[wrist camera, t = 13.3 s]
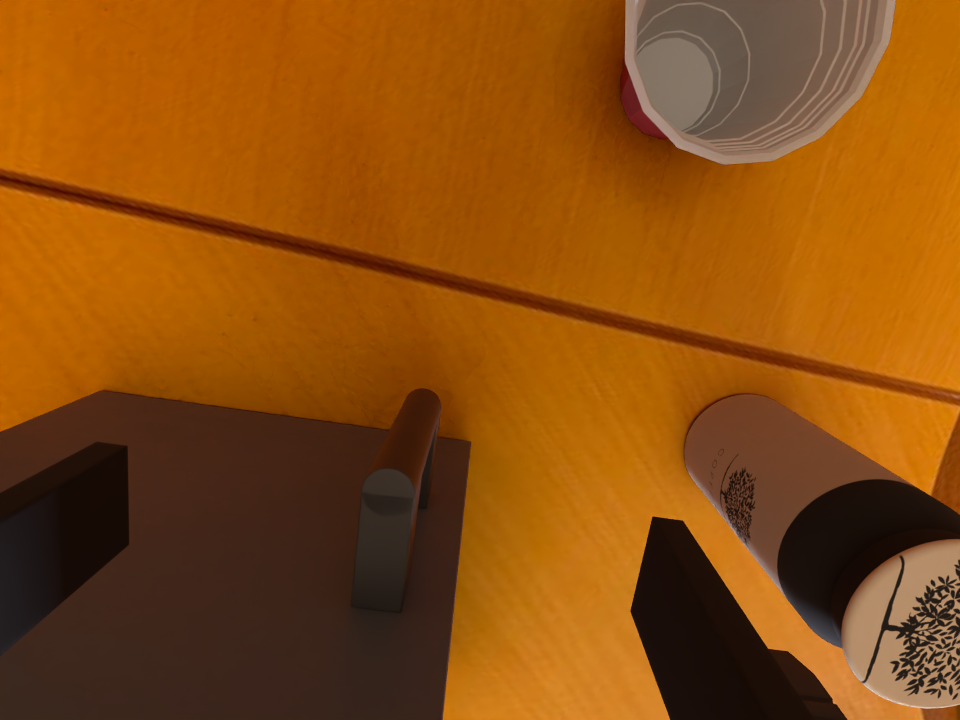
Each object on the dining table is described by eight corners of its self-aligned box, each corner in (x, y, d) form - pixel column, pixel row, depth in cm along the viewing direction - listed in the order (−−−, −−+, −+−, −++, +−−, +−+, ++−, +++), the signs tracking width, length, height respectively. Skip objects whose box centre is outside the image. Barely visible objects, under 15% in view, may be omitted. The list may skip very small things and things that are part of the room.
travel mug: (814, 408, 37) (1097, 566, 20) (772, 508, 39) (996, 734, 22) (704, 380, 37) (892, 516, 20) (667, 483, 39) (808, 691, 21)
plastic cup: (598, 205, 34) (652, 194, 23) (560, 22, 32) (599, -95, 20) (770, 158, 34) (917, 121, 22) (744, -34, 31) (894, -190, 20)
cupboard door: (97, 306, 37) (-786, 481, 11) (482, 360, 37) (460, 649, 12) (101, 405, 38) (-659, 751, 13) (468, 456, 39) (423, 893, 13)
